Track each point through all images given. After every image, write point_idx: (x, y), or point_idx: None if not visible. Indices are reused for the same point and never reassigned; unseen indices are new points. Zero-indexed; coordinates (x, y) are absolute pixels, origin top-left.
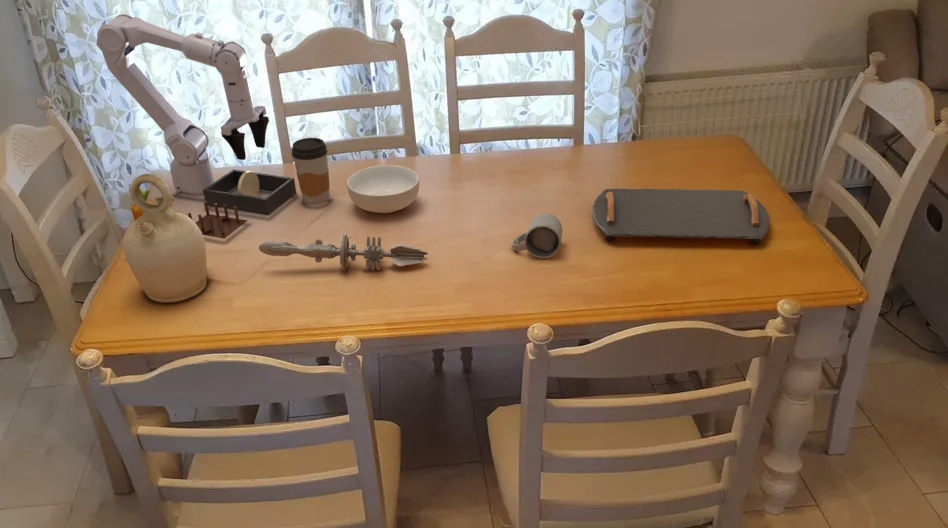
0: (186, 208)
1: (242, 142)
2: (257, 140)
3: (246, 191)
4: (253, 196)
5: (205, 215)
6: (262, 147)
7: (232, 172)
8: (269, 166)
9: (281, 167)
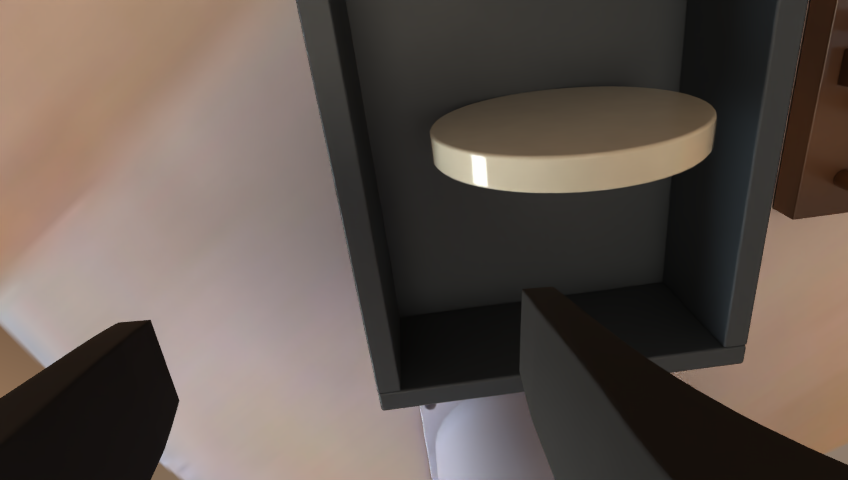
0: (683, 380)
1: (709, 440)
2: (128, 447)
3: (618, 105)
4: (523, 99)
5: (818, 214)
6: (150, 333)
7: (421, 385)
8: (57, 359)
9: (11, 292)
